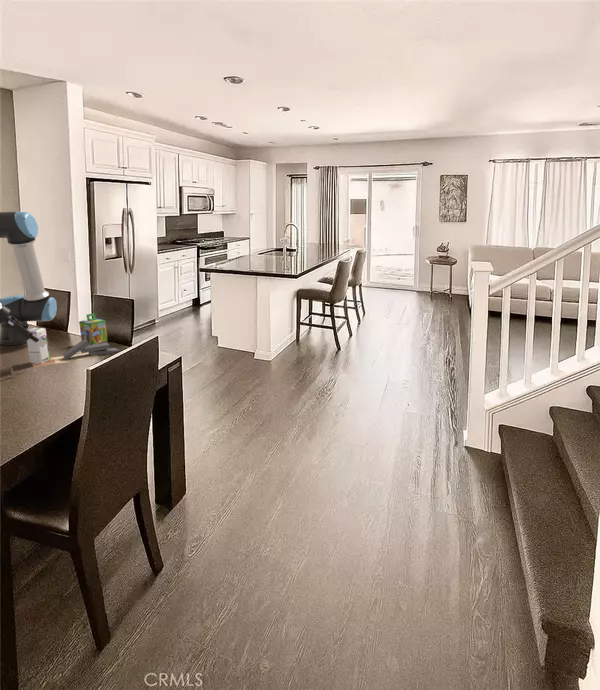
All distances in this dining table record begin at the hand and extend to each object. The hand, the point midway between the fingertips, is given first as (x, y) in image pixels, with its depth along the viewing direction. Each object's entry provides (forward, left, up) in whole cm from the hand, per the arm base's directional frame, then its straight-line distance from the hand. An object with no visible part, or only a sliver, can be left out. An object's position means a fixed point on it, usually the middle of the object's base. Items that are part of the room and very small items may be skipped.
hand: (42, 341), depth 226 cm
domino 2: (0, +15, -6) cm, 16 cm away
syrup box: (-1, -2, -9) cm, 9 cm away
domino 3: (0, +19, -8) cm, 20 cm away
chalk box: (-24, +26, -10) cm, 37 cm away
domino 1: (0, +8, -8) cm, 11 cm away
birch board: (0, +8, -10) cm, 13 cm away
